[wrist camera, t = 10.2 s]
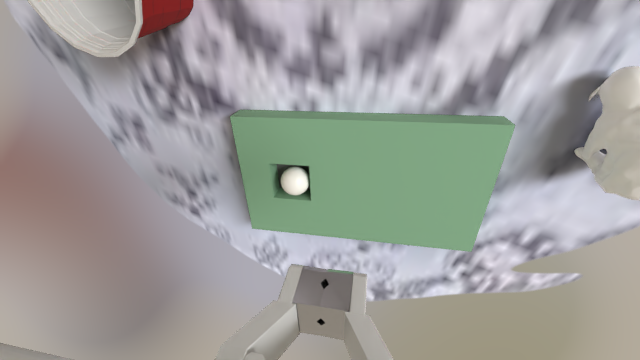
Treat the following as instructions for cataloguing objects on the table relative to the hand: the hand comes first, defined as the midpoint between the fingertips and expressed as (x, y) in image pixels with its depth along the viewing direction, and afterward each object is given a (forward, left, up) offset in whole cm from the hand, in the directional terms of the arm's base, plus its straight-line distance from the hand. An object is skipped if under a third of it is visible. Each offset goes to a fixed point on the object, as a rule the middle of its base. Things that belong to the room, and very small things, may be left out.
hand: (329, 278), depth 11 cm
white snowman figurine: (+1, +26, -27) cm, 37 cm away
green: (+10, 0, -26) cm, 28 cm away
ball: (+10, -9, -24) cm, 27 cm away
